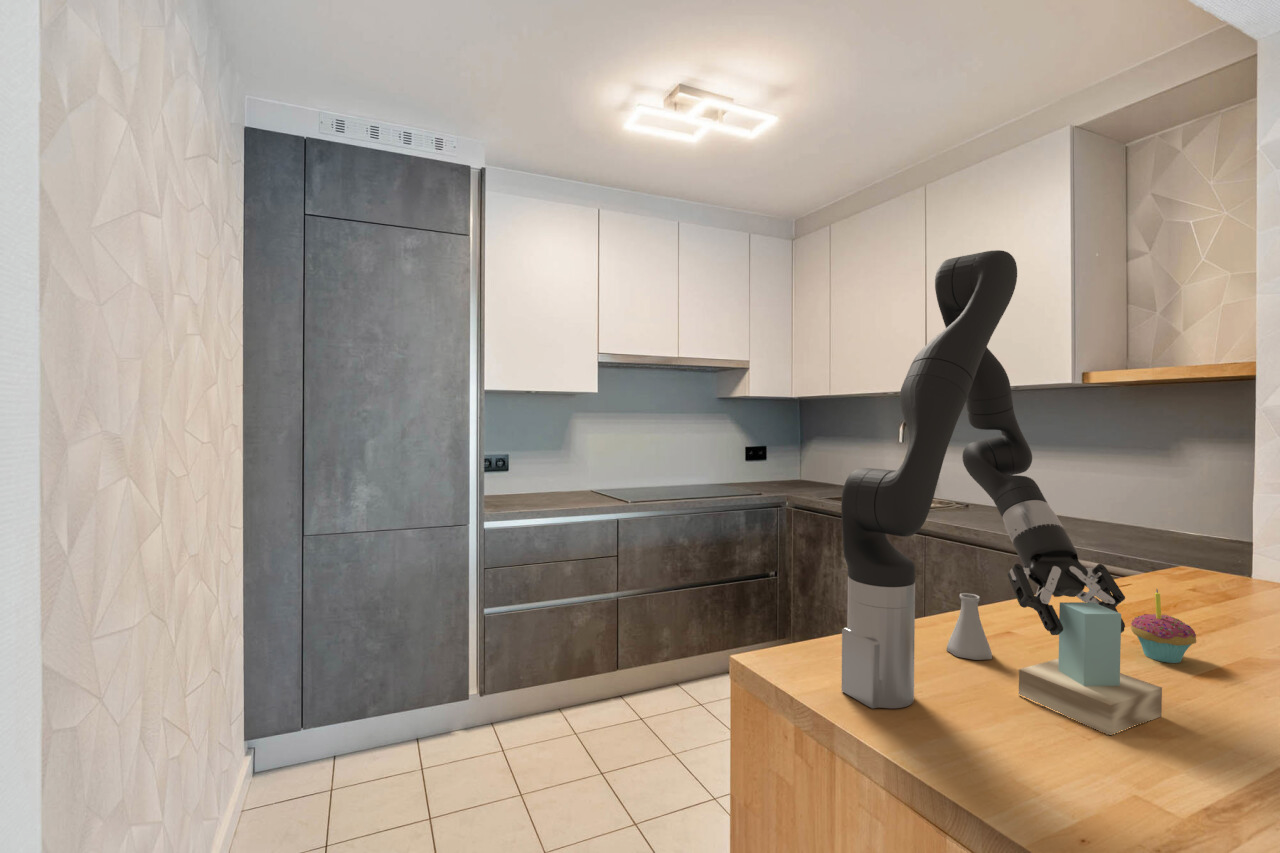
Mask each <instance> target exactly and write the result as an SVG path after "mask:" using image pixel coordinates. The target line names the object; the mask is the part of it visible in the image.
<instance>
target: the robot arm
mask: <svg viewBox="0 0 1280 853" xmlns="http://www.w3.org/2000/svg"><path fill="white" fill-rule="evenodd" d="M1017 267H1018V265H1017V262H1016V259H1015V257H1014V256H1013V255H1012V254H1011V253H1010V252H1008V251H1004V250H987V251H982V252H977V253H971V254H967V255H962V256H961V255H960V256H957V257H951V258H948V259H945V260H944V261H943V262H942V263H941V264H940V265H939V266H938V267H937V270H936V272H935V278H934V289H935V290H934V292H935V295H936V300H937V305H938V308H939V311H940V314H941V317H942V320H943V323H944V328H945V329H943V330H942V331H941V332H940V333H938V334H937V335H935V337H934V338H932V339H931V340H930V341H929V342H928V343H926V344H925V345H924V347H923V348H922V349H921V350H920V351H919V352H918V353H917V354H916V355H915V357H914V359H913V360H912V363H911V364H910V366H909V369H908V371H907V374H906V375H905V378H904V381H903V383H902V386H901V388H900V391H899V404H900V409H901V413H902V416H903V419H904V422H905V425H906V428H907V432H908V447H907V450H906V454H905V456H904V459H903V461H902V464H901V465H900V467H899V468H898V469H896V470H893V469H883V468H872V467H863V468H862V467H861V468H857V469H855V470H853V471H852V472H851V473H850V474H849V475H848V476H847V478H846V480H845V483H844V486H843V487H842V494H841V503H840V504H841V526H842V528H841V529H842V549H843V550H842V552H843V556H844V560H845V563H846V565H847V614H846V615H847V616H846V617H847V619H846V620H847V621H846V622H847V623H846V624H847V626H846V627H843V628H841V692H842V693H845V694H846V695H848V696H849V697H852V698H853V699H855V700H856V701H858V702H859V703H862V704H863V705H864V706H867V707H869V708H870V709H876V708H883V709H902V708H905V707H909V706H910V705H912V704H913V703H914V700H915V637H916V636H915V628H916V626H915V624H916V623H915V622H916V620H915V618H916V617H915V616H916V614H915V612H916V611H915V610H916V566H915V563H914V561H913V560H912V559H911V558H909V557H908V556H907V555H905V554H903V553H902V552H900V551H899V550H898V549H897V548H896V547H895V546H894V545H893V544H891V543H890V541H889V540H888V538H887V535H891V536H896V537H911V536H914V535H915V534H917V533H918V532H919V531H920V530H921V529H922V527H923V526H924V525H925V523H926V520H927V518H928V516H929V513H930V510H931V507H932V503H933V500H934V497H935V493H936V489H937V486H938V481H939V480H940V475H941V474H940V473H941V471H942V467H943V463H944V460H945V456H946V454H947V450H948V447H949V444H950V442H951V438H952V436H953V433H954V431H955V428H956V425H957V423H958V420H959V419H960V415H961V414H962V411H963V410H964V407H965V406H966V412H967V418H968V421H969V424H970V426H971V427H973V428H974V429H978V430H982V431H983V430H986V431H991V430H992V431H1000V432H1001V433H1000V434H1001V436H997V437H991V438H987V439H981V440H975V441H972V442H969V443H968V444H967V445H966V446H965V447H964V449H963V452H962V458H961V459H962V463H963V466H964V469H965V470H966V472H968V475H969V476H970V477H971V478H972V479H973V480H974V481H975V482H976V483H977V484H978V485H979V487H981V488H982V489H983V490H984V491H985V493H986V494H987V495H988V496H989V497H990V498H991V499H992V501H993V503H994V505H995V506H996V509H997V510H998V513H999V515H1000V517H1001V519H1002V520H1003V521H1002V522H1003V524H1004V528H1005V531H1006V532H1007V534H1008V537H1009V539H1010V541H1011V543H1012V545H1013V547H1014V549H1015V551H1016V554H1017V556H1018V558H1019V560H1020V562H1021V563H1022V565H1021V564H1020V563H1015V564H1014V565H1013V566H1012V568H1011V569H1010V570H1009V571H1007V572H1008V573H1007V576H1008V579H1009V581H1010V584H1011V587H1012V590H1013V592H1014V595H1015V597H1016V600H1017V602H1018V605H1019V606H1020V607H1021V608H1023V609H1024V608H1027V607H1028V608H1031V609H1033V610H1034V611H1036V612H1037V614H1038V616H1039V618H1040V621H1041V623H1042V625H1043V627H1044V629H1045V630H1047V632H1049V633H1050V635H1051V636H1059V634H1060V633H1061V632H1062V631H1063V626H1062V624H1061V622H1060V620H1059V616H1058V614H1057V612H1056V609H1055V608H1054V606H1053V604H1049V603H1050V601H1051V599H1052V596H1053V597H1054V598H1060V597H1064V596H1065V597H1069V598H1075V597H1077V598H1078V599H1079V600H1080V601H1082V602H1094V603H1097V604H1099V605H1101V606H1104V607H1106V608H1108V609H1111V610H1113V611H1116V612H1118V609H1117V607H1118V605H1120V603H1122V602H1123V601H1125V599H1126V595H1124V593H1123V591H1122V590H1121V588H1120V587H1119V586H1118V584H1117V583H1116V581H1115V579H1114V578H1113V576H1112V575H1111V573H1110V572H1109V570H1108V569H1107V567H1106V566H1105V565H1104V564H1102V563H1098V564H1097V565H1096V566H1093V567H1085V565H1083V564H1082V563H1081V562H1080V561H1079V557H1078V551H1077V549H1076V547H1075V546H1074V544H1073V542H1072V541H1071V539H1070V537H1069V535H1068V533H1067V532H1066V530H1065V528H1064V526H1063V524H1062V522H1061V521H1060V519H1059V517H1058V516H1057V514H1056V513H1055V512H1054V510H1053V509H1052V508H1051V506H1050V504H1049V503H1048V501H1047V500H1046V497H1045V496H1044V495H1043V493H1042V490H1041V489H1040V487H1039V485H1038V483H1037V482H1036V481H1035V480H1034V479H1033V478H1031V477H1029V476H1025V475H1020V474H1023V473H1025V472H1027V471H1028V470H1029V468H1030V467H1031V465H1032V464H1033V463H1032V462H1033V452H1032V450H1031V448H1030V446H1029V444H1028V442H1027V440H1026V438H1025V436H1024V434H1023V432H1022V430H1021V428H1020V426H1019V423H1018V420H1017V417H1016V414H1015V410H1014V402H1013V395H1012V388H1011V383H1010V380H1009V376H1008V373H1007V371H1006V369H1005V368H1004V366H1003V364H1002V363H1001V362H1000V361H999V360H998V358H997V357H996V356H995V355H994V353H993V352H992V351H991V350H990V349H989V347H988V344H989V342H990V341H991V338H992V336H993V334H994V332H995V330H996V328H997V327H998V325H999V323H1000V321H1001V319H1002V317H1003V316H1004V313H1005V312H1006V310H1007V308H1008V306H1009V304H1010V302H1011V300H1012V298H1013V295H1014V293H1015V289H1016V287H1017V286H1016V285H1017V282H1018V281H1017V279H1018V268H1017ZM1029 579H1030V580H1031V581H1032V582H1033V583H1034V584H1036V585H1037V589H1036V591H1035V592H1036V593H1035V594H1034V591H1033V589H1032V586H1031V583H1030V582H1029ZM1085 587H1086V588H1088V591H1085V590H1084V589H1085ZM1118 613H1119V612H1118ZM1125 628H1126V624H1125V622H1124V619H1123V618H1122V617H1121V634H1122V633H1123V632H1124V631H1125Z"/></svg>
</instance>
